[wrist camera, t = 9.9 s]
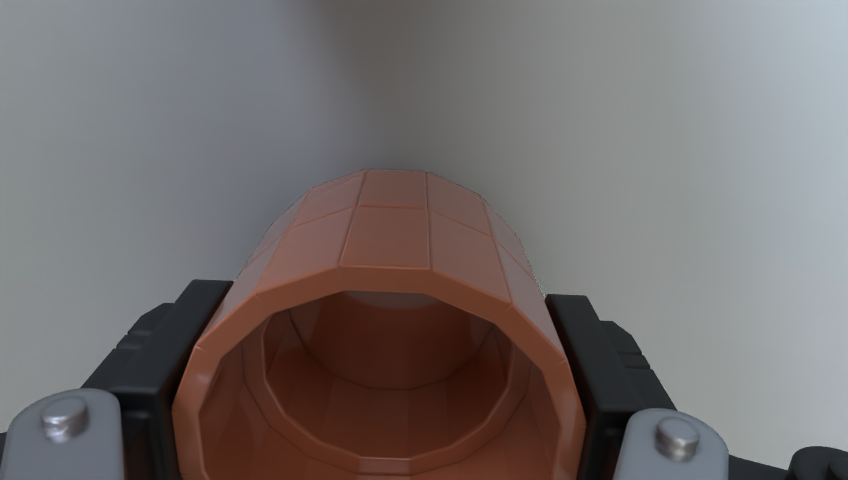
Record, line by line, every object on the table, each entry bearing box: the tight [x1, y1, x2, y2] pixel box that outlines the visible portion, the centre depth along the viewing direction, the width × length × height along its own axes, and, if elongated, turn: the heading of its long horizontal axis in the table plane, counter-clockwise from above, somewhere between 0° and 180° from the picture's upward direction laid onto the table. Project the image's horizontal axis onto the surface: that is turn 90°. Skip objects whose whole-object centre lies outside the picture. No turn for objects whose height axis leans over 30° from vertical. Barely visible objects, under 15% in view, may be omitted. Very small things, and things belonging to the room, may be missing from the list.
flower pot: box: [171, 169, 587, 480], centre depth 11 cm, size 6×6×5 cm
